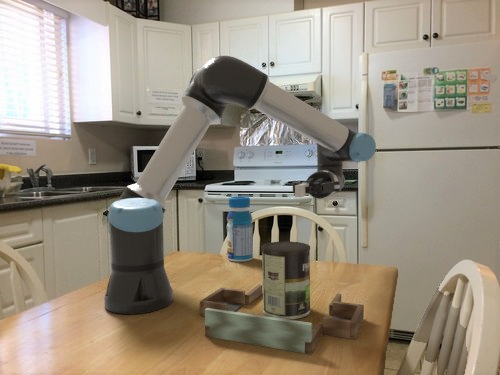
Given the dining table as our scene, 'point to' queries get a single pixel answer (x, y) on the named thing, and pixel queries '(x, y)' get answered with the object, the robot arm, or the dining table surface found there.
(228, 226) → the beverage bottle
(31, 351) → the dining table surface
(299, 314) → the coffee can
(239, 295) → the wooden tray
